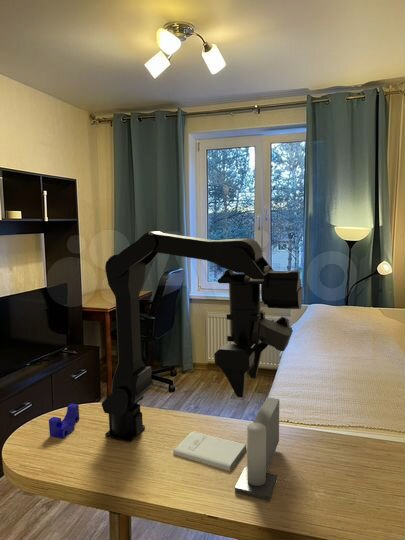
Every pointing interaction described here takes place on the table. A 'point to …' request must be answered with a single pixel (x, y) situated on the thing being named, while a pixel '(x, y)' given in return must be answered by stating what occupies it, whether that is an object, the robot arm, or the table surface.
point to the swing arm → (262, 441)
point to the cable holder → (64, 422)
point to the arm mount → (256, 491)
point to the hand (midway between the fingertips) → (247, 387)
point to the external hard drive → (210, 450)
